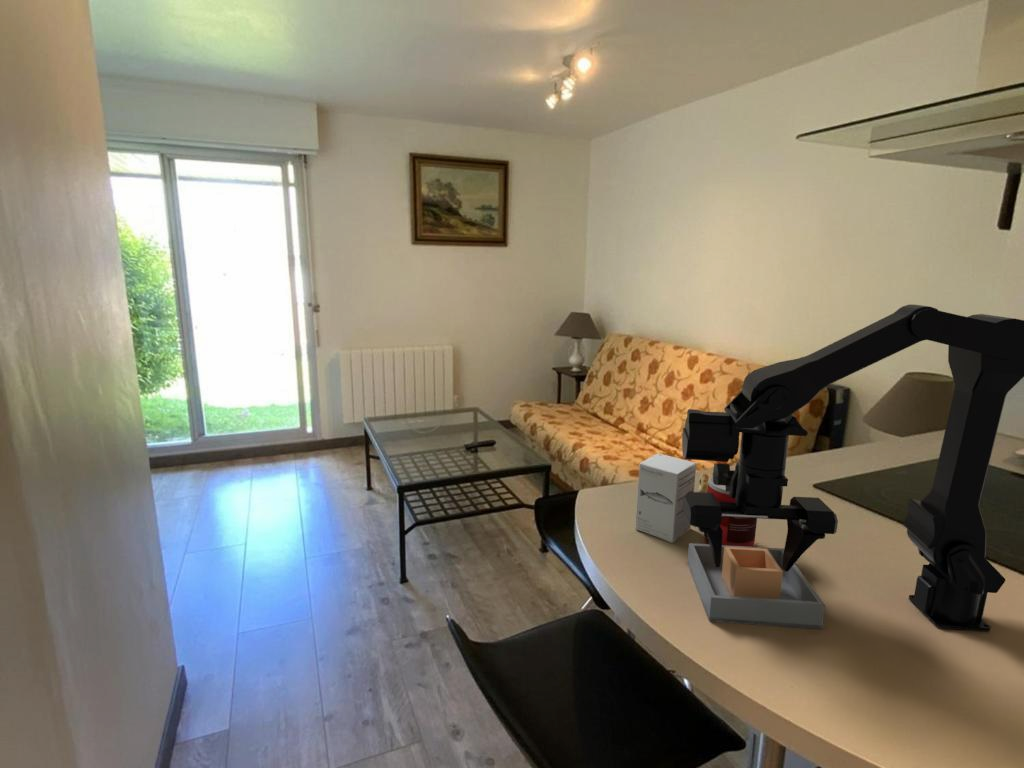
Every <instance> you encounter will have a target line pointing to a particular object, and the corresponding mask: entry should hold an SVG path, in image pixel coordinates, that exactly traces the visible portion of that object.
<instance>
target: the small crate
mask: <svg viewBox="0 0 1024 768" xmlns="http://www.w3.org/2000/svg"><path fill="white" fill-rule="evenodd" d="M782 576H783V571H782V569H781V568H780V567H779V565H778V564H777V562H776V561H775V559H774V558H773V557H772V555H771V554H770V552H769V551H768V549H761V548H742V547H724V555H723V566H722V576H721V578H722V580H723V582H724V584H725V586H726V588H727V590H728V592H729V594H730V596H737V597H752V598H768V599H780V593H781V585H782Z"/></svg>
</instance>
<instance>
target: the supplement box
mask: <svg viewBox="0 0 1024 768" xmlns="http://www.w3.org/2000/svg"><path fill="white" fill-rule="evenodd" d="M697 465H698V464H697V462H695V461H694V462H693V461H691V460H687V459H683V458H677V457H675V456H669V455H667V454H663V453H659V452H658V453H656V454H654V455H652V456H650V457H649V458H646V459H645V460H643V461H641V462H640V463H639V467H638V483H637V496H636V497H637V498H636V509H635V510H636V512H635V513H636V514H635V526H634V527H635V530H637V531H640V532H643V533H645V534H648V535H651V536H653V537H656V538H658V539H661V540H664V541H667V542H669V543H671V544H673V543H675V542H676V541H678V539H680V538H681V537H682V536H683V535H685V534H686V533H687V532H688V531H690V529H691V527H692V525H690V524H689V521H688V519H687V517H686V514H685V512H684V510H683V499H684V496H685V495H686V494H687V493H688V492H695V484H696V471H697Z"/></svg>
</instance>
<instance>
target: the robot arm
mask: <svg viewBox="0 0 1024 768" xmlns="http://www.w3.org/2000/svg"><path fill="white" fill-rule="evenodd" d="M923 341H929V342H930V341H931V342H933V343H934V342H935V343H939V344H942V345H946V346H948V353H947V354H948V355H947V356H948V357H947V358H948V361H947V362H948V365H949V369H950V372H951V375H952V379H953V382H954V391H953V395H952V399H951V402H950V407H949V411H948V416H947V421H946V426H945V430H944V435H943V439H942V442H941V443H942V444H941V447H940V452H939V455H938V456H939V457H938V462H937V465H936V466H937V467H936V470H935V475H934V479H933V484H932V486H931V487H932V488H931V489H930V492H929V493H928V494H927V495H926V496H925V497H924V498H923V499H922V500H919V499H913V498H909V501H908V502H907V514H906V517H905V519H904V521H903V522H902V523H901V524H902V525H903V527H904V528H906V534H907V537H908V539H909V540H910V541H911V542H912V543H913V545H914V546H916V547H917V550H918V554H919V556H921V557H923V558H924V559H925V560H926V561H927V562H928V563H929V564H922V569H921V575H918V576H917V578H916V582H915V590H914V592H913V593H914V594H909V595H908V600H909V601H910V602H911V603H912V604H913V605H914V606H915V607H916V608H917V609H918V610H919V611H920V612H921V613H922V614H923V615H924V616H925V617H926V618H927V619H928V620H929V621H930V622H931V623H932V624H933V625H934V626H935V627H938V628H939V629H940V628H941V629H954V630H966V631H967V630H968V631H969V630H971V631H983V632H990V631H991V625H990V624H988V623H987V622H986V621H985V620H984V619H983V617H984V616H983V615H984V611H985V606H986V601H987V599H988V598H987V597H988V593H992V594H996V593H998V592H999V590H1000V589H1001V588H1002V587H1003V585H1004V584H1005V582H1006V578H1005V577H1004V576H1003V575H1002V574H1001V572H999V571H998V569H996V568H995V566H993V565H992V563H991V562H990V561H988V559H986V555H987V554H986V553H987V530H986V525H985V522H984V518H983V516H982V513H981V508H980V502H981V498H982V493H983V491H984V485H985V481H986V477H987V475H988V471H989V470H988V469H989V464H990V462H991V457H992V454H993V449H994V446H995V441H996V437H997V433H998V430H999V425H1000V420H1001V417H1002V412H1003V409H1004V405H1005V403H1006V402H1005V401H1006V397H1007V395H1008V393H1009V392H1010V391H1011V390H1012V389H1013V388H1014V387H1015V386H1016V385H1017V384H1018V383H1019V382H1020V381H1021V380H1022V379H1023V378H1024V320H1023V319H1018V318H1013V317H1007V316H1006V317H1005V316H998V315H991V314H984V313H979V314H978V313H977V314H976V313H975V314H972V315H969V316H964V315H959V314H955V313H951V312H946V311H942V310H939V309H938V308H936V307H933V306H929V305H922V304H907V305H903V306H901V307H899V308H898V309H897V310H896V311H895V312H893V313H891V314H890V315H887V316H885V317H883V318H881V319H879V320H877V321H875V322H872V323H870V324H869V325H866V326H865V327H863V328H861V329H859V330H856V331H854V332H852V333H851V334H848V335H847V336H845V337H842V338H840V339H838V340H836V341H834V342H832V343H829V345H827V346H824V347H822V348H820V349H818V350H816V351H813V352H812V353H810V354H807V355H805V356H801V357H799V358H794V359H789V360H784V361H778V362H775V363H771V364H769V365H766V366H763V367H760V368H756V369H754V370H752V371H750V373H748V374H747V375H746V377H744V381H743V383H742V386H741V390H740V391H739V392H738V393H737V394H736V395H735V396H734V397H733V398H732V400H730V401H729V403H728V404H727V405H726V406H725V407H724V408H723V410H724V411H708V410H707V411H705V410H701V409H696V408H695V409H693V408H692V409H691V408H689V409H688V410H687V413H686V414H687V415H686V419H685V422H684V427H682V436H681V439H682V440H681V444H682V445H681V447H682V448H681V449H682V457H683V458H682V459H683V460H688V461H691V460H693V461H704V462H705V461H708V462H711V461H712V462H723V463H713V471H712V474H713V483H714V484H715V485H726V491H729V495H730V497H731V498H735V503H730V502H718V501H717V499H716V498H715V496H714V494H713V493H703V492H699V491H694V492H688V493H687V494H686V495H685V496H684V499H683V510H684V512H685V514H686V517H687V519H688V521H689V524H690V525H691V527H695V528H698V531H699V532H701V533H703V534H704V533H706V534H707V537H708V540H709V544H710V547H711V551H712V555H713V559H714V562H715V565H716V567H720V563H721V554H722V535H723V530H722V529H721V527H720V525H719V524H721V521H722V516H723V517H743V518H757V519H764V520H765V519H767V520H785V521H786V525H787V534H786V538H785V543H784V548H783V549H784V554H783V566H782V567H783V569H784V571H787V572H788V571H789V570H790V569H791V567H792V566H793V565H794V564H795V565H796V563H797V561H798V560H799V559H800V558H801V557H802V556H803V554H804V553H806V551H807V550H808V549H809V548H810V547H811V546H812V545H813V544H814V543H816V541H817V540H823V539H825V537H826V535H834V534H836V533H837V531H838V523H839V521H838V517H837V514H836V513H835V512H834V511H833V510H832V509H831V507H829V506H828V505H827V504H826V503H825V502H824V501H823V500H822V499H821V498H820V497H812V496H811V497H809V496H793V497H791V498H790V500H789V504H782V501H783V500H782V499H783V492H784V487H788V482H789V479H788V477H787V476H785V474H786V465H787V456H788V455H787V454H788V450H789V449H788V447H789V439H790V436H793V437H794V436H797V437H798V436H799V437H806V436H808V433H809V432H808V431H807V429H806V428H804V427H803V426H802V425H801V424H800V422H799V421H798V418H797V417H796V415H794V414H795V413H796V412H797V411H799V410H801V409H802V408H803V407H805V406H807V405H808V404H809V403H810V402H812V400H813V399H815V397H816V396H817V395H818V394H819V393H820V392H822V390H824V389H825V388H827V387H828V386H829V385H831V384H833V383H836V382H837V381H839V380H842V379H844V378H846V377H848V376H850V375H853V374H854V373H857V372H859V371H861V370H863V369H865V368H867V367H869V366H871V365H874V364H876V363H878V362H880V361H882V360H884V359H886V358H889V357H890V356H893V355H894V354H896V353H899V352H901V351H903V350H905V349H907V348H909V347H912V346H914V345H916V344H918V343H920V342H923ZM740 433H741V436H740ZM739 444H740V445H739ZM739 446H740V447H739ZM738 452H739V455H738V456H739V457H738V458H739V459H738V461H736V464H735V468H734V469H731V467H730V463H728V462H729V461H730V460H734V458H735V456H737V454H738Z"/></svg>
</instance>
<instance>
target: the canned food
mask: <svg viewBox="0 0 1024 768" xmlns="http://www.w3.org/2000/svg"><path fill="white" fill-rule="evenodd" d="M707 493H713V494H714V496H715V498H716V499H717V501H718V502H730V503H735V498H731V497H730V495H729V491H726V485H715V484H714V483H713V476H711V477H710V478H709V481H708V488H707ZM757 522H758V518H743V517H723V516H722V521H721V524H719V525H720V527H721V529H722V530H723V535H722V545H728V546H746V547H755V540H756V531H757V524H758V523H757ZM703 537H704V542H705V544H709V540H708V537H707V534H706V533H703Z"/></svg>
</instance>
